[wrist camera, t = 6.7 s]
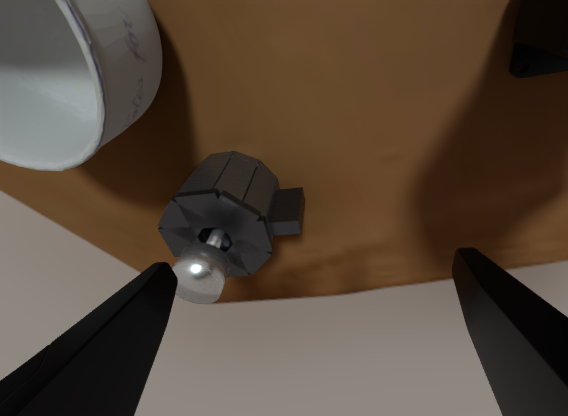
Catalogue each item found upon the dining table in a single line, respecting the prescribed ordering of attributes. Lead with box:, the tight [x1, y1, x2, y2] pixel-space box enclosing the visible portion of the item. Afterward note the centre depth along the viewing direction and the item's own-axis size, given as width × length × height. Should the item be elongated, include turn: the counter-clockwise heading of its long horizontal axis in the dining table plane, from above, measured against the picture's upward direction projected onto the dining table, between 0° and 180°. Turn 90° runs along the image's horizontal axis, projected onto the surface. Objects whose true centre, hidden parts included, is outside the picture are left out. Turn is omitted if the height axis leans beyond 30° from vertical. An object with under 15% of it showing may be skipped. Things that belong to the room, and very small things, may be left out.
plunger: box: [172, 227, 230, 304], centre depth 19 cm, size 5×5×8 cm
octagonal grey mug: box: [158, 151, 305, 277], centre depth 21 cm, size 9×7×6 cm
